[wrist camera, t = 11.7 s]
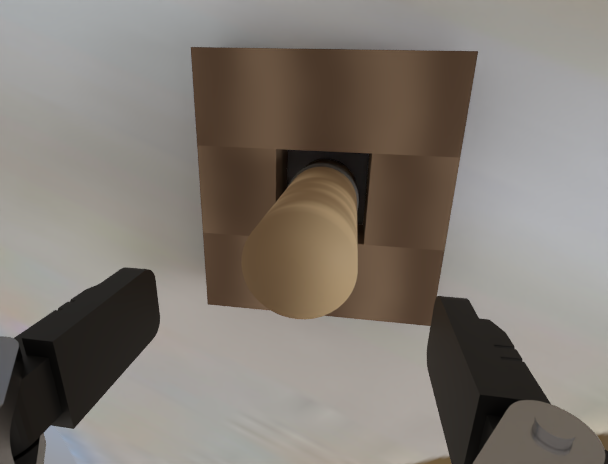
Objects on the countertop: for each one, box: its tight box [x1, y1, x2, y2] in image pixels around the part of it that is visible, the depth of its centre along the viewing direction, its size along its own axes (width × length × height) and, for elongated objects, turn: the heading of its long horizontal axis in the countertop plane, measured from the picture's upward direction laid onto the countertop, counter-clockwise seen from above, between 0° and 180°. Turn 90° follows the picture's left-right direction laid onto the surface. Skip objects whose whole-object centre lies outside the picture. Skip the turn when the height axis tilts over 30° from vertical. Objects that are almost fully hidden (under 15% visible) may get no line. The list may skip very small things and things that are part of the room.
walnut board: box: [191, 47, 478, 326], centre depth 24 cm, size 15×16×4 cm
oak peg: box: [241, 159, 359, 319], centre depth 19 cm, size 4×4×14 cm
